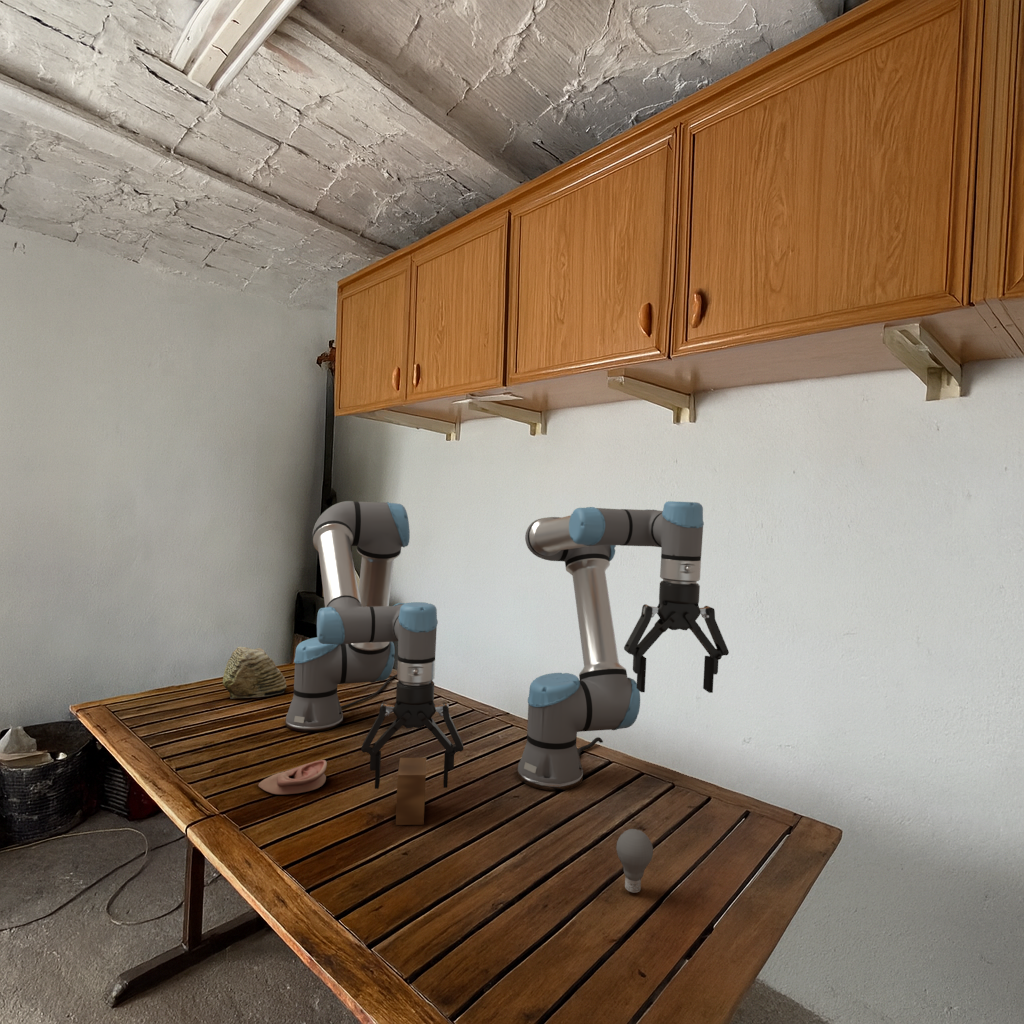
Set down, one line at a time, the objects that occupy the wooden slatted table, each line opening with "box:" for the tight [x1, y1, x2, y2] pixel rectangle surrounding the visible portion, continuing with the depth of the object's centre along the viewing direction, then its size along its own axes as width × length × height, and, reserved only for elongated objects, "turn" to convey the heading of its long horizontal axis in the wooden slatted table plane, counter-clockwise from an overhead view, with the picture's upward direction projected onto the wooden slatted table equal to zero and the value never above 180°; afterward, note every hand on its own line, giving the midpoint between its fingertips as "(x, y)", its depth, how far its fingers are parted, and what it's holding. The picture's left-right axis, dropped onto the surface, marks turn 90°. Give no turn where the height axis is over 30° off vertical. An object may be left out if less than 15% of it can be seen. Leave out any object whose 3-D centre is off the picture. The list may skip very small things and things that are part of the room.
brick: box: [395, 757, 427, 826], centre depth 128 cm, size 5×8×10 cm, turn 7°
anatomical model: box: [257, 759, 328, 795], centre depth 139 cm, size 13×4×12 cm
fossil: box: [222, 646, 288, 699], centre depth 198 cm, size 9×18×15 cm, turn 132°
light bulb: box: [615, 828, 654, 894], centre depth 106 cm, size 6×6×10 cm
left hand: (411, 785), depth 128 cm, fingers open, 13 cm apart
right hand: (674, 690), depth 123 cm, fingers open, 13 cm apart
